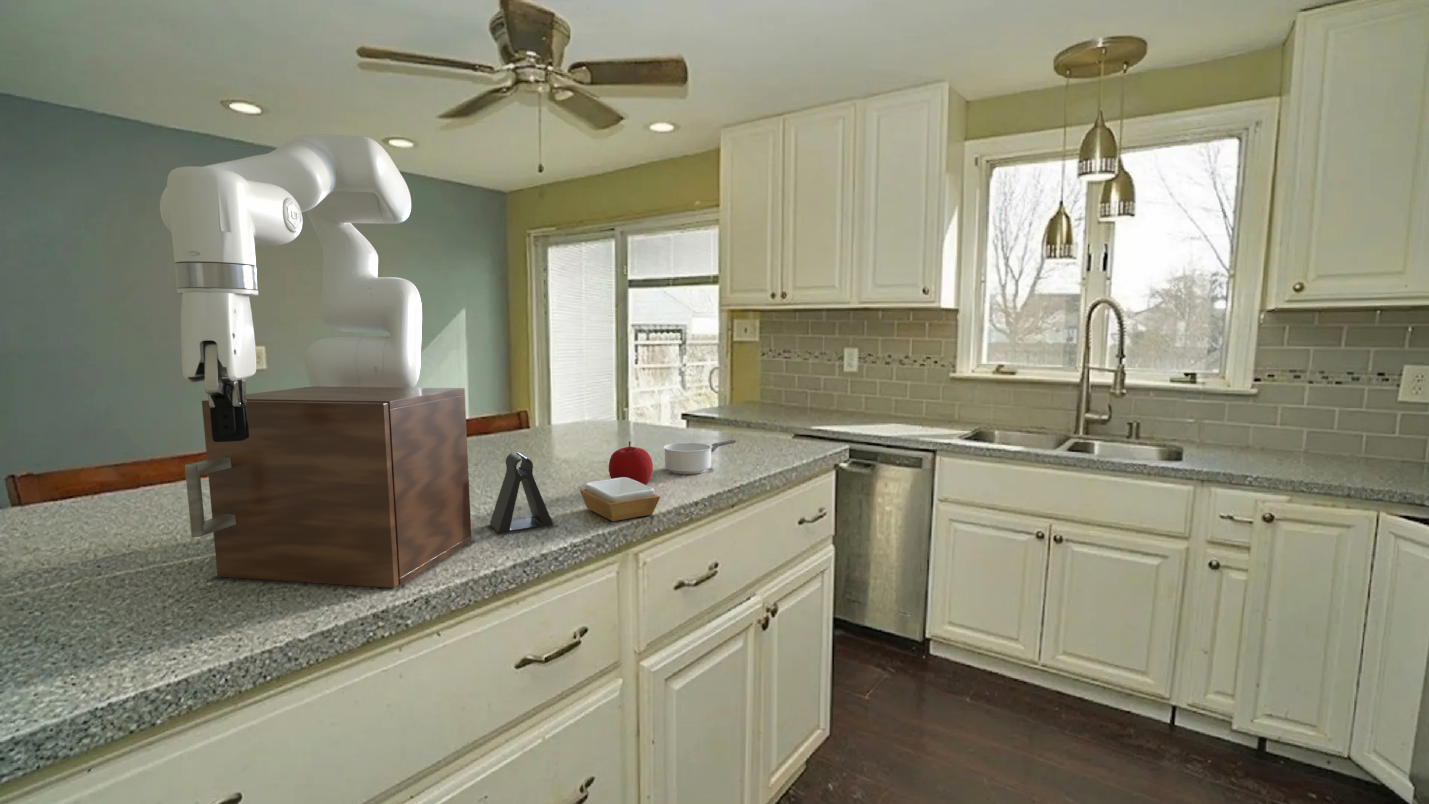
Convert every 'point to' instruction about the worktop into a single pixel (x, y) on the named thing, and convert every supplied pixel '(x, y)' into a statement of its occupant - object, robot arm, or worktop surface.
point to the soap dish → (619, 498)
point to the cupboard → (416, 465)
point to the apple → (631, 464)
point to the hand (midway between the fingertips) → (231, 440)
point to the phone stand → (509, 494)
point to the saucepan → (690, 456)
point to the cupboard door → (301, 494)
